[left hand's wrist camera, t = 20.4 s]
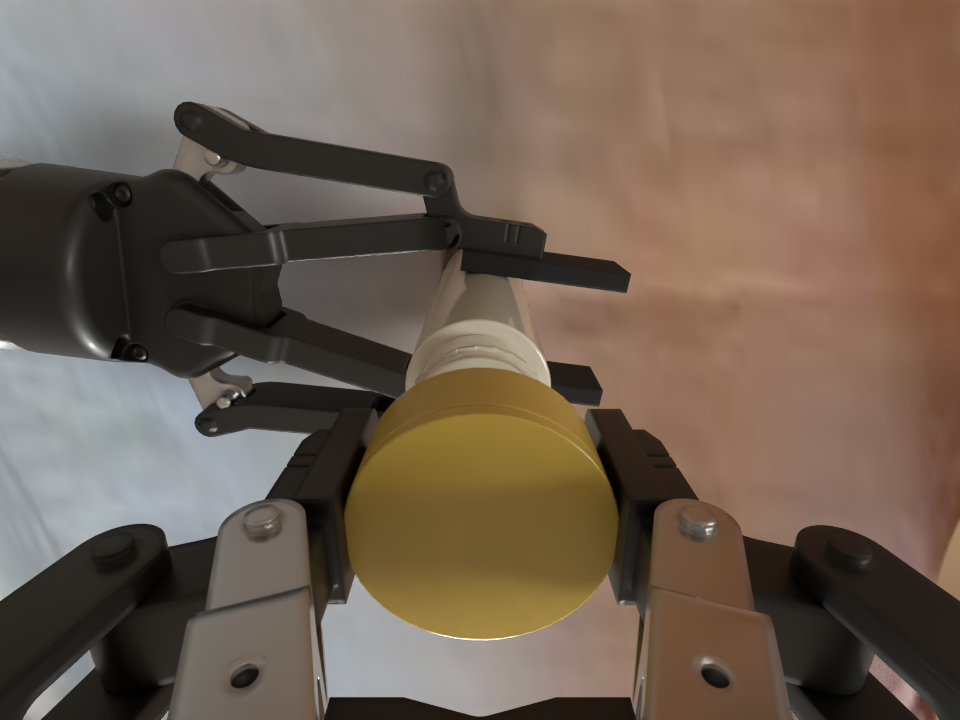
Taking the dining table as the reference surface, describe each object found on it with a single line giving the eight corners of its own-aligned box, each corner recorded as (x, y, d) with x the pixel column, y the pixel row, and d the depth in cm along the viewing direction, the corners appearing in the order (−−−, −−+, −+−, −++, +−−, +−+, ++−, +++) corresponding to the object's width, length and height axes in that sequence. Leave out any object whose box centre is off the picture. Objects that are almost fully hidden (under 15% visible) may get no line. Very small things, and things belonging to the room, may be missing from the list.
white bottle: (457, 231, 27) (424, 317, 12) (532, 259, 27) (588, 376, 13) (431, 304, 28) (373, 462, 14) (503, 330, 29) (522, 510, 14)
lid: (543, 585, 12) (555, 666, 10) (341, 527, 12) (313, 601, 10) (634, 410, 11) (669, 466, 9) (405, 332, 10) (386, 373, 8)
